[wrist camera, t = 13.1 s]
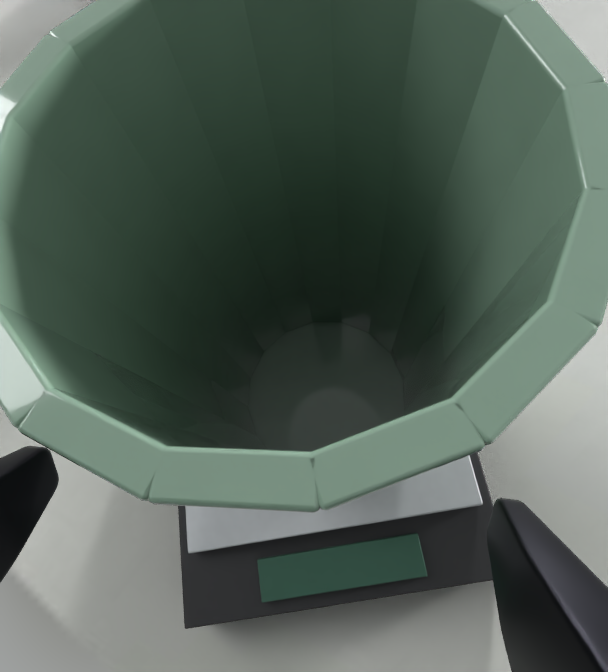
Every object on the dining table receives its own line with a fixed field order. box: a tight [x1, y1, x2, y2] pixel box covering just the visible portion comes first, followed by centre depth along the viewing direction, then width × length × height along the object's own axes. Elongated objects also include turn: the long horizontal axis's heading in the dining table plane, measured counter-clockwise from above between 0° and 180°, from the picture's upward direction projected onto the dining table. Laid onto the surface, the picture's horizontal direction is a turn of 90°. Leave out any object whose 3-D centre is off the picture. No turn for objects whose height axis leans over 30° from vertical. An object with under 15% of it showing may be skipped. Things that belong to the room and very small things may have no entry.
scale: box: [178, 452, 493, 629], centre depth 18 cm, size 14×12×2 cm
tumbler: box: [0, 0, 608, 513], centre depth 11 cm, size 7×7×14 cm
